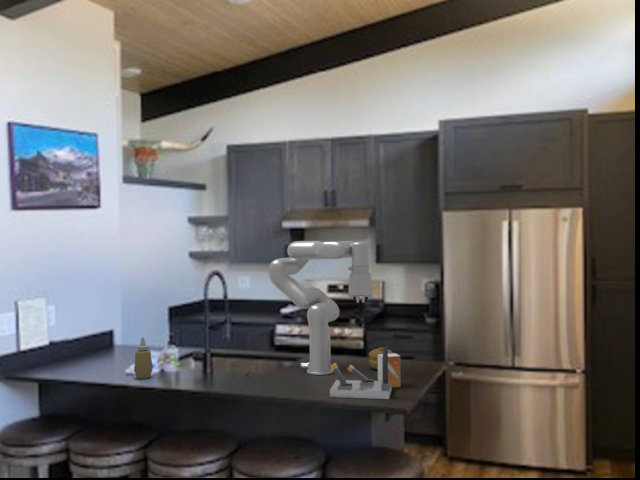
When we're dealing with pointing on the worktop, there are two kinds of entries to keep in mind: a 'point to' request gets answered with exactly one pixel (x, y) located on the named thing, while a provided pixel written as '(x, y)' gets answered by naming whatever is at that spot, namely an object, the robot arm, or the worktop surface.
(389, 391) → the panel
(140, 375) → the squeeze bottle
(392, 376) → the small box
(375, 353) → the pot
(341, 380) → the orange tipped lever
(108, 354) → the worktop surface
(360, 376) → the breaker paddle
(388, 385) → the post
